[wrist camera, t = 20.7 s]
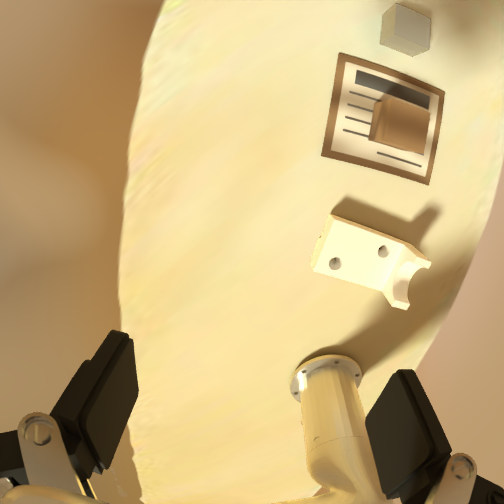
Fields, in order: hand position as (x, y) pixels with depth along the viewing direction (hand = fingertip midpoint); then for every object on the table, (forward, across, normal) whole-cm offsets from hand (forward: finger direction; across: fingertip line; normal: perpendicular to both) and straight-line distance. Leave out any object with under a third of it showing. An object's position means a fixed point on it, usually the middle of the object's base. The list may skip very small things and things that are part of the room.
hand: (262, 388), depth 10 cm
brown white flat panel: (+30, -14, -14) cm, 36 cm away
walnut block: (+30, -14, -13) cm, 35 cm away
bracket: (+31, -14, +4) cm, 34 cm away
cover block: (+28, -14, -24) cm, 40 cm away
